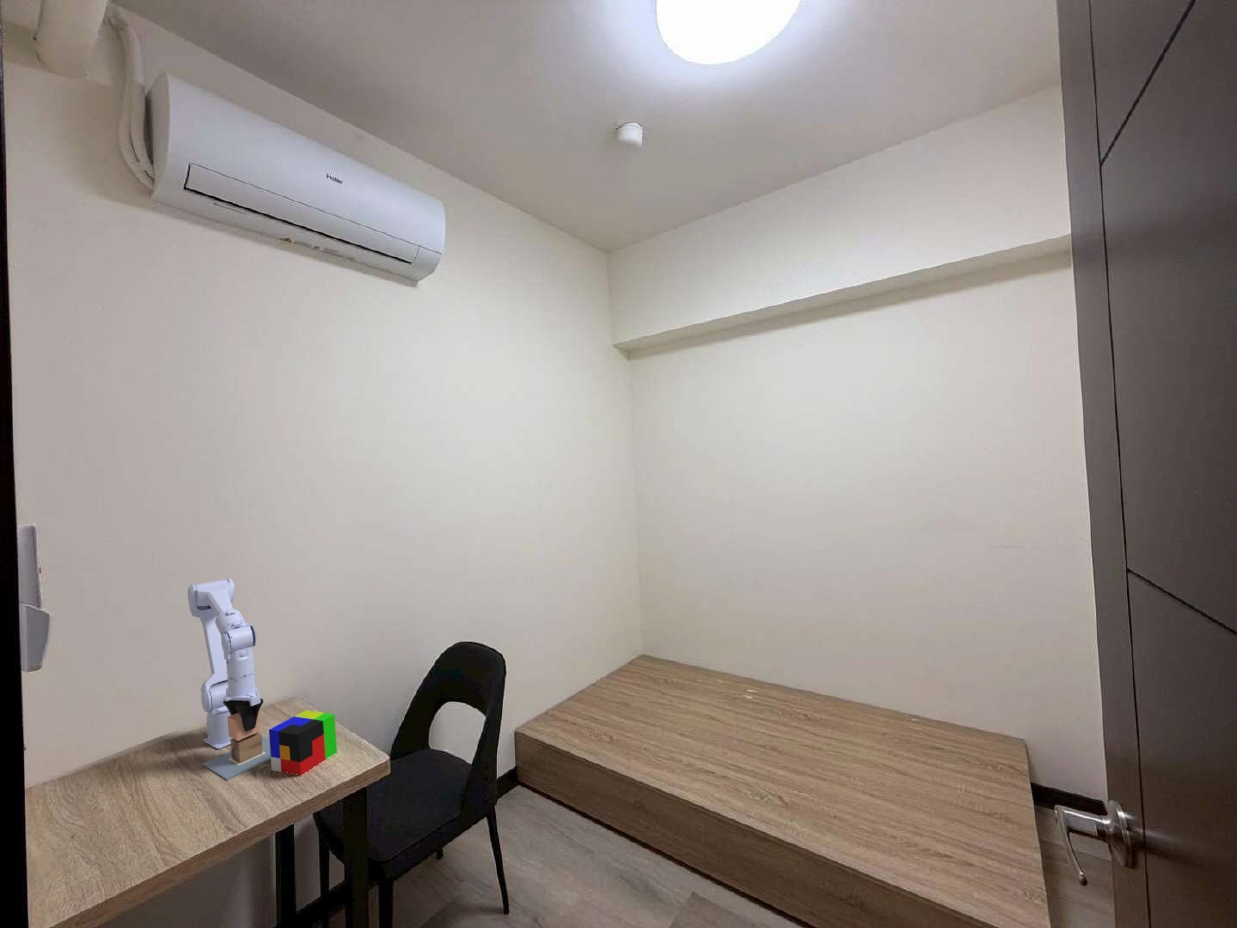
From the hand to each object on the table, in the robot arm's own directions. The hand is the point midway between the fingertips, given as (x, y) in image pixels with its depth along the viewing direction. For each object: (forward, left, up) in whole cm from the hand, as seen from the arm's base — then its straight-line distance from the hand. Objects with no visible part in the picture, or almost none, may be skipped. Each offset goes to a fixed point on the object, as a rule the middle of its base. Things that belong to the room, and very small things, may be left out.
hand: (245, 727), depth 133 cm
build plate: (0, 0, -8) cm, 8 cm away
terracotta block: (0, 0, -2) cm, 2 cm away
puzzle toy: (+16, +6, -8) cm, 19 cm away
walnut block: (0, 0, -7) cm, 7 cm away
